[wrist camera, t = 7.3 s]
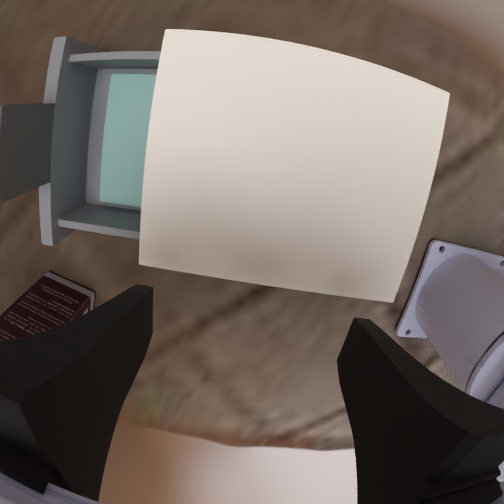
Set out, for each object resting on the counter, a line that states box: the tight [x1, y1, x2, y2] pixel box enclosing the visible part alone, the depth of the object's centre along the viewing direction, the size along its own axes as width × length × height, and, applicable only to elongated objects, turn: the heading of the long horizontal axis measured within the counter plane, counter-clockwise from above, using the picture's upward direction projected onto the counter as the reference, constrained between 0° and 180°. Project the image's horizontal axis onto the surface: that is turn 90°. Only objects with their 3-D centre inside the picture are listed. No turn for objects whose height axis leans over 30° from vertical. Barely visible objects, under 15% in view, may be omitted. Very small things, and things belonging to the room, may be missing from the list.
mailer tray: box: [0, 36, 161, 246], centre depth 14 cm, size 13×11×9 cm
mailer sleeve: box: [139, 29, 450, 303], centre depth 16 cm, size 13×11×6 cm
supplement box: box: [0, 272, 95, 342], centre depth 16 cm, size 9×5×16 cm, turn 159°
